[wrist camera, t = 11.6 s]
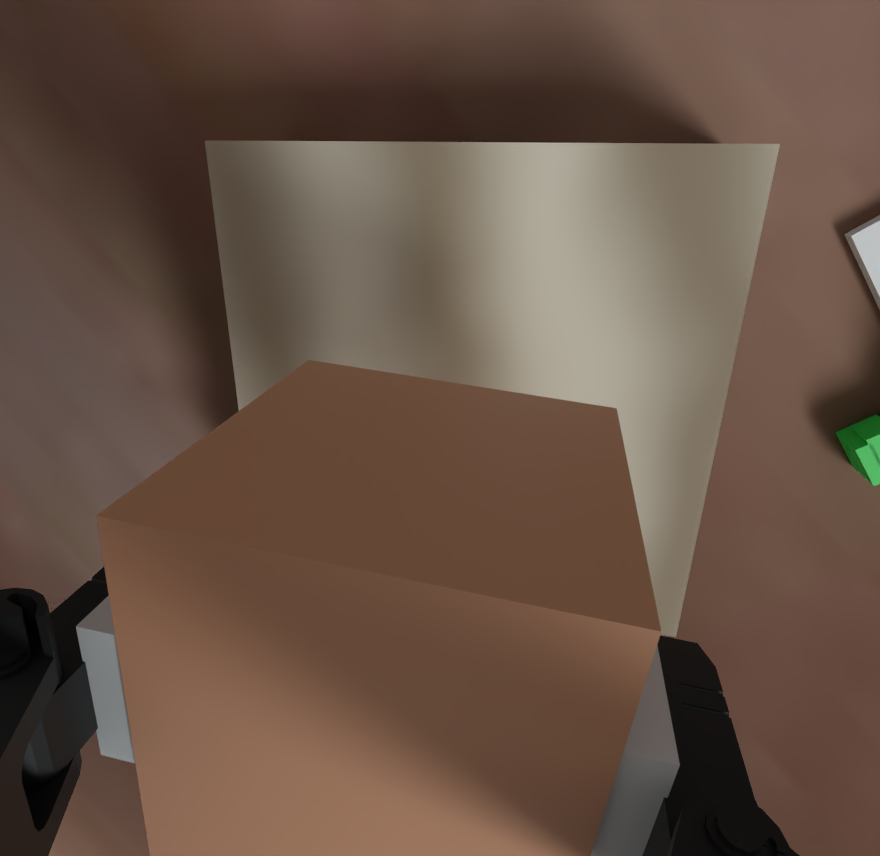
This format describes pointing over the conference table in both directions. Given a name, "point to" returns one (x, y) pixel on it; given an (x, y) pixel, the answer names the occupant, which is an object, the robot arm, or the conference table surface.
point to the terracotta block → (382, 622)
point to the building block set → (876, 251)
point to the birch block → (509, 284)
